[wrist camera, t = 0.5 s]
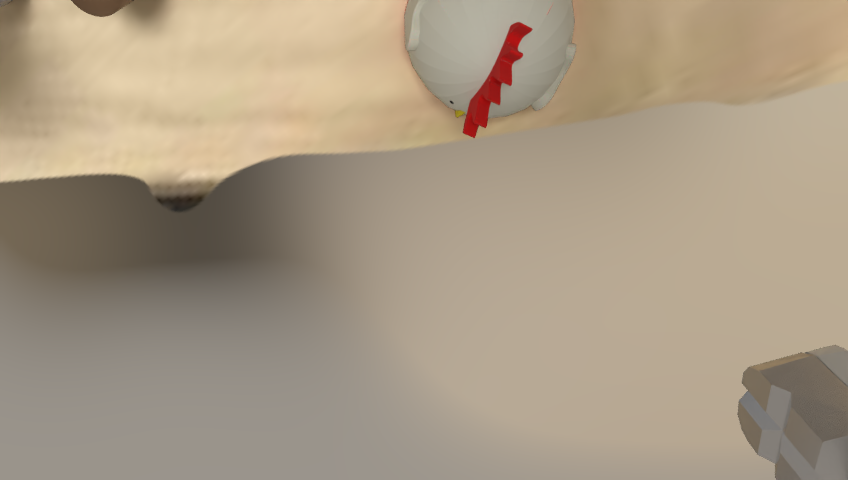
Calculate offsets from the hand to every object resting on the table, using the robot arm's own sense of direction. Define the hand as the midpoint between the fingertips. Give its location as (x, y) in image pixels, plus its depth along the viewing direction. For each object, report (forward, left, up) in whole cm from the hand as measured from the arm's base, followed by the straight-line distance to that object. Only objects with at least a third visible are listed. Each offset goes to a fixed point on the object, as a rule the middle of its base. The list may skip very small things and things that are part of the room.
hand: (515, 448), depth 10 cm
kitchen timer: (+6, +2, -46) cm, 46 cm away
